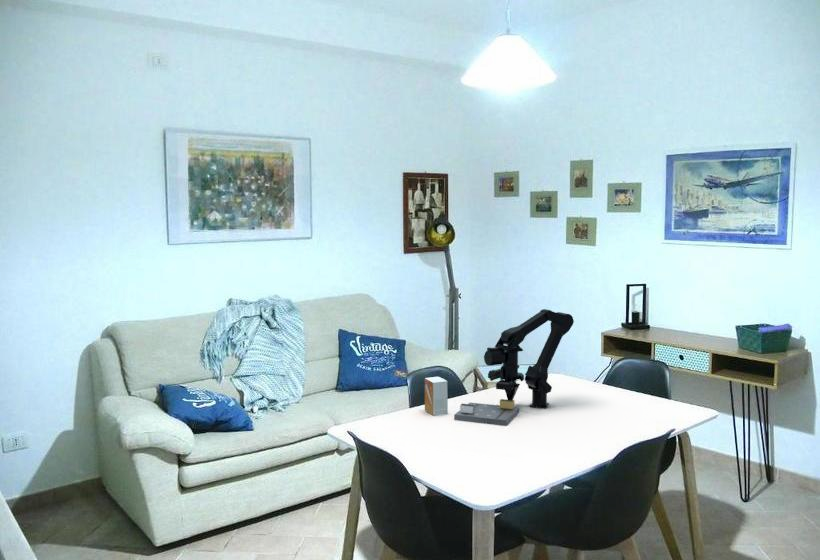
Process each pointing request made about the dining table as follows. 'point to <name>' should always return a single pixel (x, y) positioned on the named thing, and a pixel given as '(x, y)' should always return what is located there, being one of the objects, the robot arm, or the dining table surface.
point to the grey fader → (467, 408)
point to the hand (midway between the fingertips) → (510, 402)
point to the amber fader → (507, 404)
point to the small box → (436, 396)
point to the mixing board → (488, 414)
